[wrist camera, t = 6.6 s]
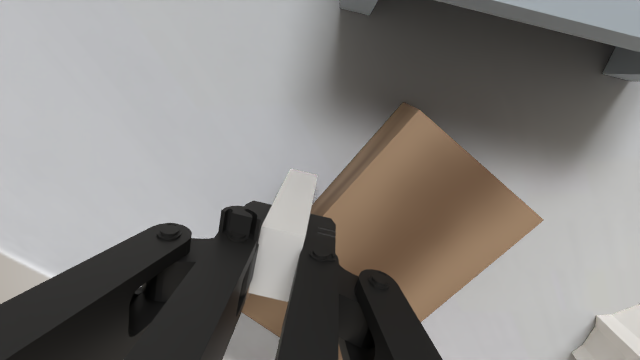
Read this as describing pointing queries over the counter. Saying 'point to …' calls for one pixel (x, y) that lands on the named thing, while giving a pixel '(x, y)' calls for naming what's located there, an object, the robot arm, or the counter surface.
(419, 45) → the counter surface
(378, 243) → the board
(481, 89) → the counter surface
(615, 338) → the cup
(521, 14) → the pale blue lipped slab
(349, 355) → the robot arm
